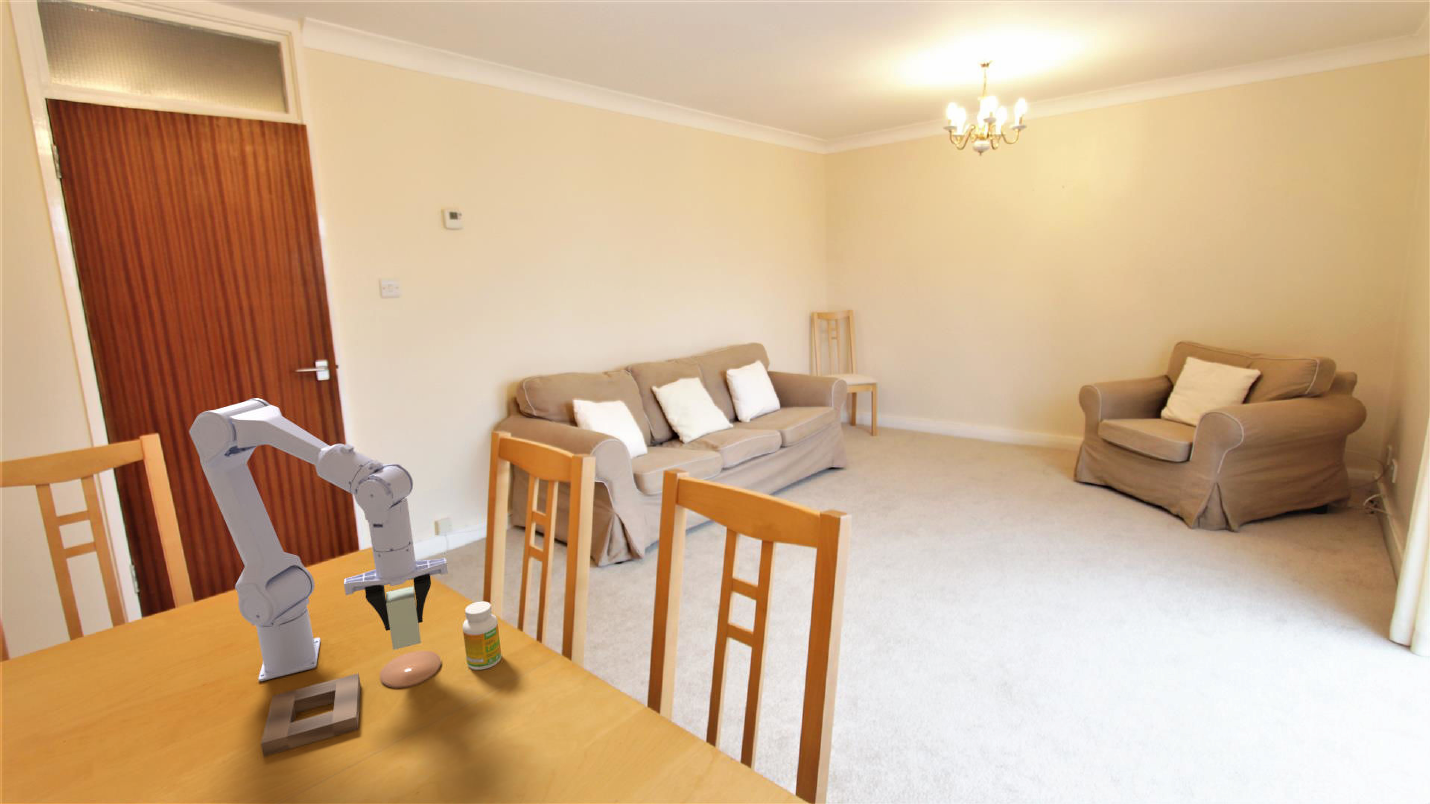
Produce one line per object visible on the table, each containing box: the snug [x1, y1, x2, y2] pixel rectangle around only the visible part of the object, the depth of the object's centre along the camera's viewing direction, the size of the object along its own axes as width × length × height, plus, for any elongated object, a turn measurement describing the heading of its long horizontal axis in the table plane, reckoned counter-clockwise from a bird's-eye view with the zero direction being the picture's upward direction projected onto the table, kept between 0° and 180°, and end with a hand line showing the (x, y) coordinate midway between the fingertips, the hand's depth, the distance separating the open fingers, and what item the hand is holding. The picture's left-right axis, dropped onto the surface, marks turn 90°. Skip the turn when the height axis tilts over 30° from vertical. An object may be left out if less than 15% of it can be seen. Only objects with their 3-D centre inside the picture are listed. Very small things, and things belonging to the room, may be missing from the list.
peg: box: [385, 585, 422, 651], centre depth 107 cm, size 4×4×8 cm
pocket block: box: [260, 673, 362, 757], centre depth 98 cm, size 11×11×2 cm
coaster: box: [379, 650, 442, 689], centre depth 109 cm, size 9×9×1 cm
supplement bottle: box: [462, 600, 502, 671], centre depth 110 cm, size 5×5×10 cm
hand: (404, 623), depth 107 cm, fingers closed on peg, 4 cm apart
